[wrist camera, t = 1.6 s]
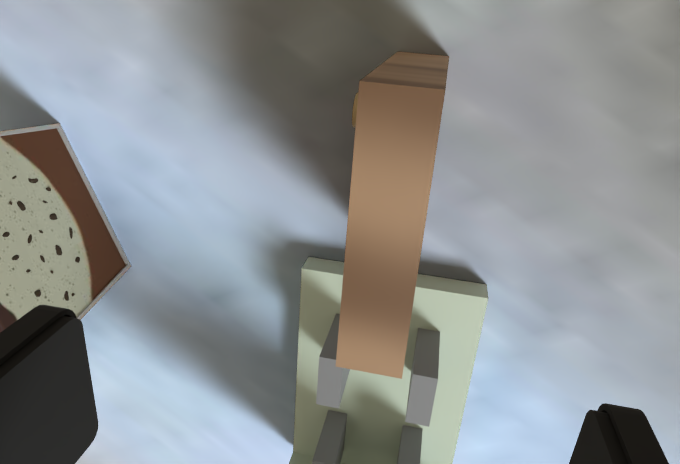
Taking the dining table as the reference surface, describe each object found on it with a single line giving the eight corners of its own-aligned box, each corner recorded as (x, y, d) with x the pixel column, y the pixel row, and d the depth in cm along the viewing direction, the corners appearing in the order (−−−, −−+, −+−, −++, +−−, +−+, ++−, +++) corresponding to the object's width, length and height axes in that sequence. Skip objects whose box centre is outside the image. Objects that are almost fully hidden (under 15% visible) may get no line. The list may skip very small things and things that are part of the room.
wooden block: (385, 50, 25) (338, 79, 15) (449, 56, 24) (445, 89, 14) (366, 240, 29) (319, 363, 19) (420, 248, 28) (401, 379, 18)
